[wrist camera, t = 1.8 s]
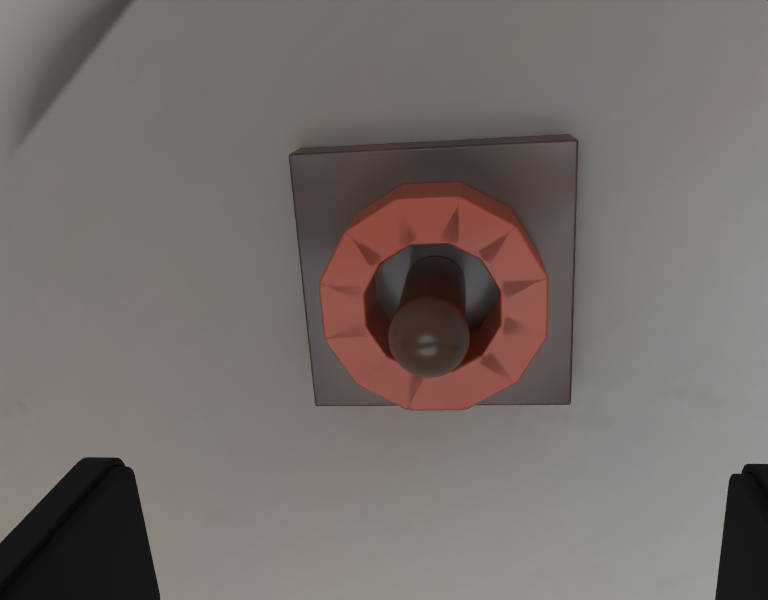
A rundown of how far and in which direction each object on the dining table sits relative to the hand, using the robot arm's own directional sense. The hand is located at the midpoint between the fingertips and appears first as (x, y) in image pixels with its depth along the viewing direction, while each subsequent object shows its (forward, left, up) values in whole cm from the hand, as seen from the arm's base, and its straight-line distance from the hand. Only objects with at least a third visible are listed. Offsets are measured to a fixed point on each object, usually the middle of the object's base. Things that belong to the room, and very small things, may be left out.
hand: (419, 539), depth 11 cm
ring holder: (0, 0, -14) cm, 14 cm away
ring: (0, 0, -13) cm, 13 cm away
